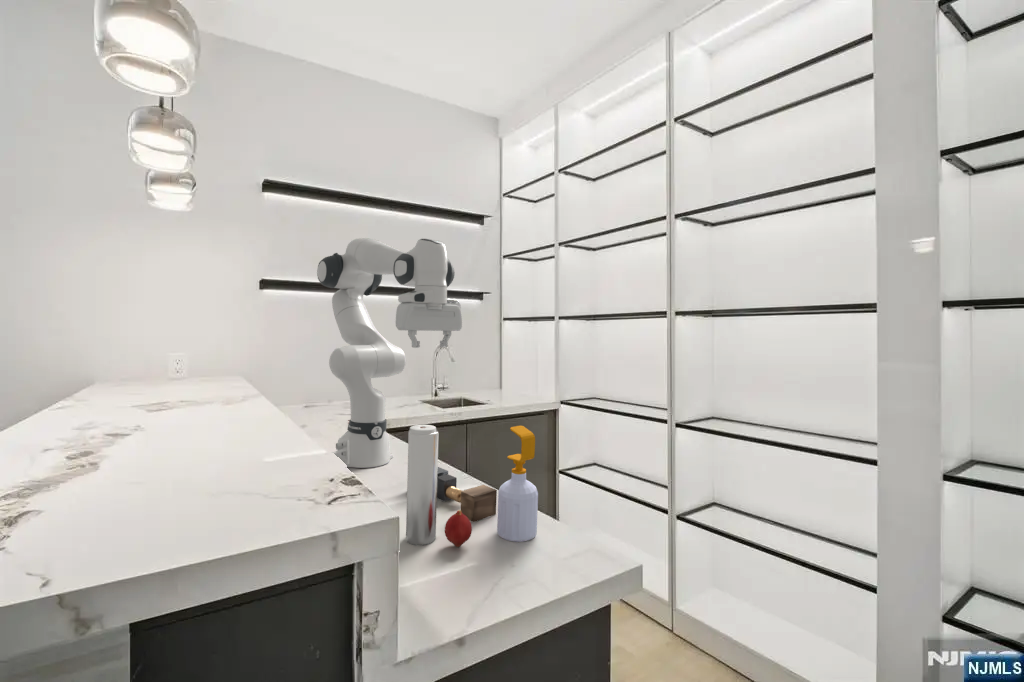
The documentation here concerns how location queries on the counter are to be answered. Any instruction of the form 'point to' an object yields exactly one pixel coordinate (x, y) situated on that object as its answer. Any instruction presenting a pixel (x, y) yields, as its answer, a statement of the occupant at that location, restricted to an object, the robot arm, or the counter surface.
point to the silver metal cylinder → (422, 484)
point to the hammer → (448, 488)
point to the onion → (458, 529)
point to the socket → (478, 502)
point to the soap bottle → (518, 495)
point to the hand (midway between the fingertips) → (430, 347)
